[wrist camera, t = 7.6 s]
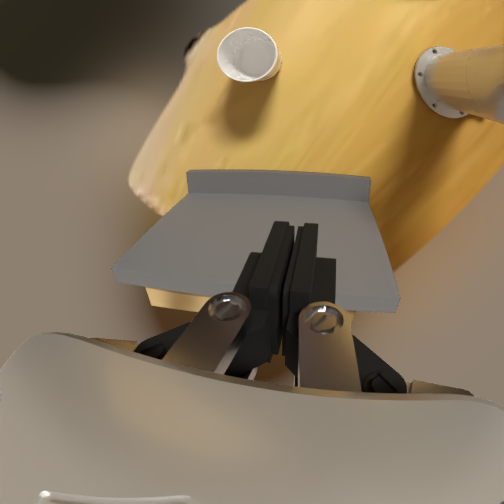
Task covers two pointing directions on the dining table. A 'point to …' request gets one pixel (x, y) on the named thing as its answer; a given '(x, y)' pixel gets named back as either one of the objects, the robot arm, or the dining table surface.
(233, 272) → the board
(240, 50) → the white cup
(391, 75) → the dining table surface
